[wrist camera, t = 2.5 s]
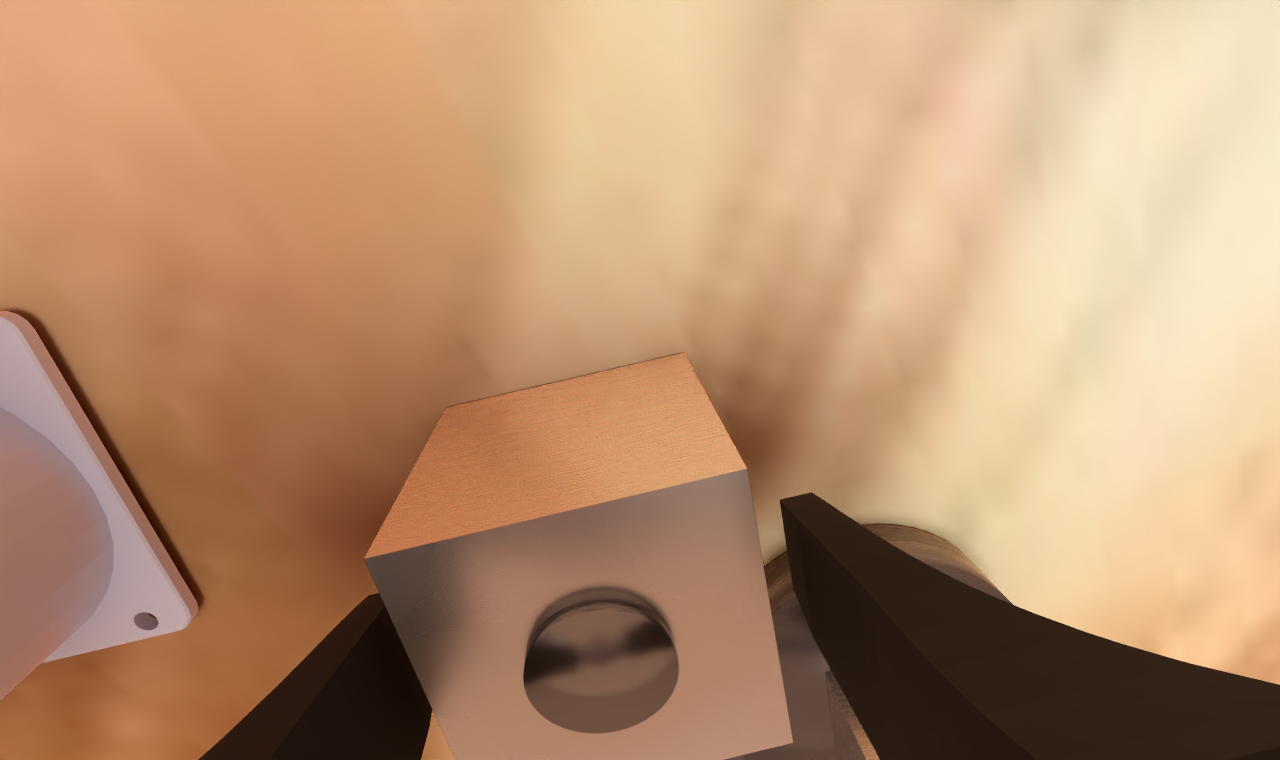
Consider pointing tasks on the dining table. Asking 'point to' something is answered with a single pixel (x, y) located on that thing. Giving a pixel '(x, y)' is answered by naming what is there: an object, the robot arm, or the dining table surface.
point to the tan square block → (586, 575)
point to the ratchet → (818, 710)
